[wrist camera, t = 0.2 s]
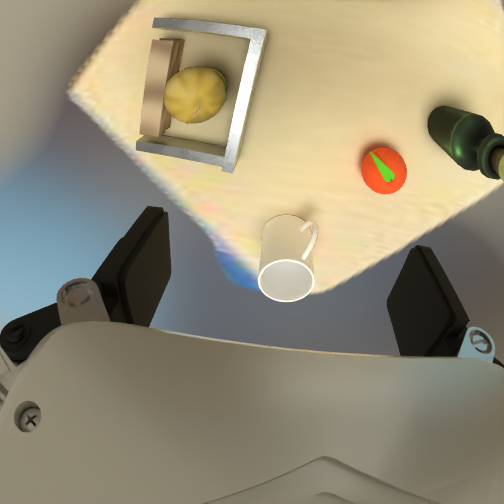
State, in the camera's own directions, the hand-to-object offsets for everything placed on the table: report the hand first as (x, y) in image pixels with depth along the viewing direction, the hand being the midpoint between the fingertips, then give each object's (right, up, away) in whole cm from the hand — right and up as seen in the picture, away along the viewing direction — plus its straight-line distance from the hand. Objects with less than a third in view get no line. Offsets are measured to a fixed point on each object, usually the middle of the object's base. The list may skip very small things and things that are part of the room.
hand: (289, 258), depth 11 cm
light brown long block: (-14, +25, +28) cm, 40 cm away
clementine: (+18, +15, +32) cm, 40 cm away
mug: (+6, +4, +41) cm, 42 cm away
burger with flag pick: (-8, +24, +28) cm, 38 cm away
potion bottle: (+29, +20, +27) cm, 44 cm away
